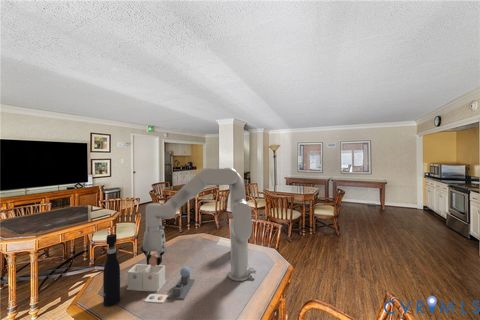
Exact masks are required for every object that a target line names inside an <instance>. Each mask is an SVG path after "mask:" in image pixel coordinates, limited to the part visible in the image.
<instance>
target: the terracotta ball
mask: <svg viewBox="0 0 480 320" xmlns="http://www.w3.org/2000/svg"><path fill="white" fill-rule="evenodd" d="M157 257H158V254H154V255H152V256H151V257H150V259H149V265H151V266H156V265H157Z"/></svg>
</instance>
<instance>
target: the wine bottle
mask: <svg viewBox="0 0 480 320" xmlns="http://www.w3.org/2000/svg"><path fill="white" fill-rule="evenodd" d="M117 240H118V239H117V234H116V233H111V234H107V236H106V245H107V253H106V261H105V264H104V268H103V271H102V272H103V273H102V274H103V282H102V283H103V293H102V294H103V306H104V307H107V308H108V307H112V306H116V305H117V304H118V303H119V302H120V301H121V266H120V262H119V260H118V258H117V257H118V256H117V248H116V243H117Z"/></svg>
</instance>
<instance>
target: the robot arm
mask: <svg viewBox="0 0 480 320" xmlns="http://www.w3.org/2000/svg"><path fill="white" fill-rule="evenodd" d="M209 186H228V188H229V194H230V197H229V198H230V199H229V200H230V201H229V202H230V208H229V209H230V212H231V213H232V218H233V219H231V220H230V223H229V234H230V235H229V237H230V269H229V270H228V273H227V276H228V278H229V279H230V280H232V281H235V282H243V281H247V280H249V279H250V278H251V276H252V275H253V274H257V269H255V268H254V267H251V266H250V264H249V257H248V256H249V247H248V244H249V243H248V241H249V239H250V238H251V236H252V231H253V224H252V222H253V221H252V208H251V206H250V204H249V203H248V201H247V197H246V196H247V195H246V185H245V182H244V180H243V177H242V176H241V174H239V173H238V171H237V170H235V169H234V168H231V167H224V168H213V167H211V168H210V167H204V168H202V169H201V170H200V171H198V173H196V174H195V175H194V176H193V177H192V178H191V179H190V180H189V181H187V182H186V183H185V184H184V185H183V186H182V187H181V188H180V189H179V190H178V191H177V192H176V193H175V194H173V196H171V197H170V198H169V199H168V200H166V202H165V203H164V204H161V203H158V202H153V203H147V204H146V205H145V231H144V234H143V240H142V245H141V247H140V249H139V250H140V251H141V252H142V253H143V254H144V255H145V258H146V265H150V264H149V259H150V257H151V256H153V255H152V254H151V253H152V252H155V253H156V255H157V256H158V257H157V265H158V266H159V265H162V262H163V255H164V254H165V253H167V252H168V251H169V249H168V247H167V246H166V237H165V230H164V229H165V226H164V225H163V222H162V220H163V219H164V220H171V219H173V218H174V217H175V216H176V215H177V213H178V212H177V211H178V210H180V209H181V207H183V206H184V205H185V204H186V203H188V201H191V200H192V199H195V198H196V197H197V196H198V195H199V194H201V193H202V192H203V190H205V189H206V188H207V187H209ZM251 274H252V275H251Z"/></svg>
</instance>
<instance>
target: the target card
mask: <svg viewBox="0 0 480 320" xmlns="http://www.w3.org/2000/svg"><path fill="white" fill-rule="evenodd" d="M168 295H169V294H160V293H158V294H157V293H149V294H148V295H147V297H146V298H145V299H144V301H143V302H144V303H145V302H147V303H158V304H159V303H161V304H163V303H164V302H165V301H166V299H167V297H168Z"/></svg>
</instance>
